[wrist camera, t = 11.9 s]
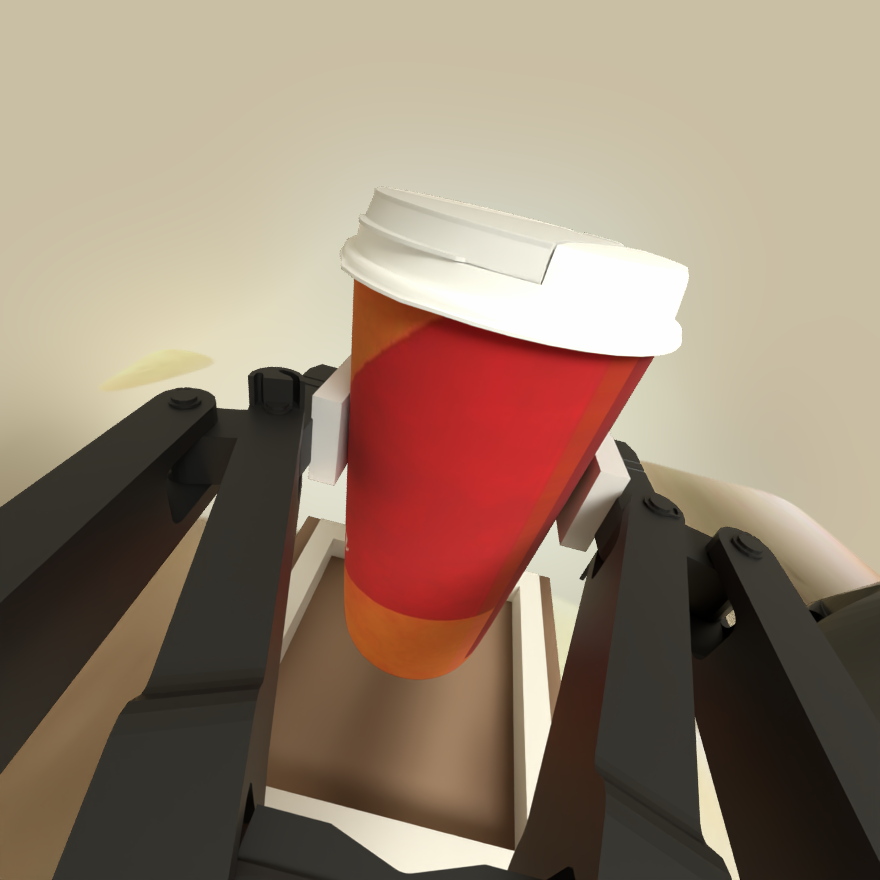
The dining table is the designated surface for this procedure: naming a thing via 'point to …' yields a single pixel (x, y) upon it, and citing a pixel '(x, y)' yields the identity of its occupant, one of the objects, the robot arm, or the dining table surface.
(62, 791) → the dining table surface
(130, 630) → the dining table surface
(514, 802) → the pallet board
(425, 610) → the paper cup
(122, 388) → the dining table surface
